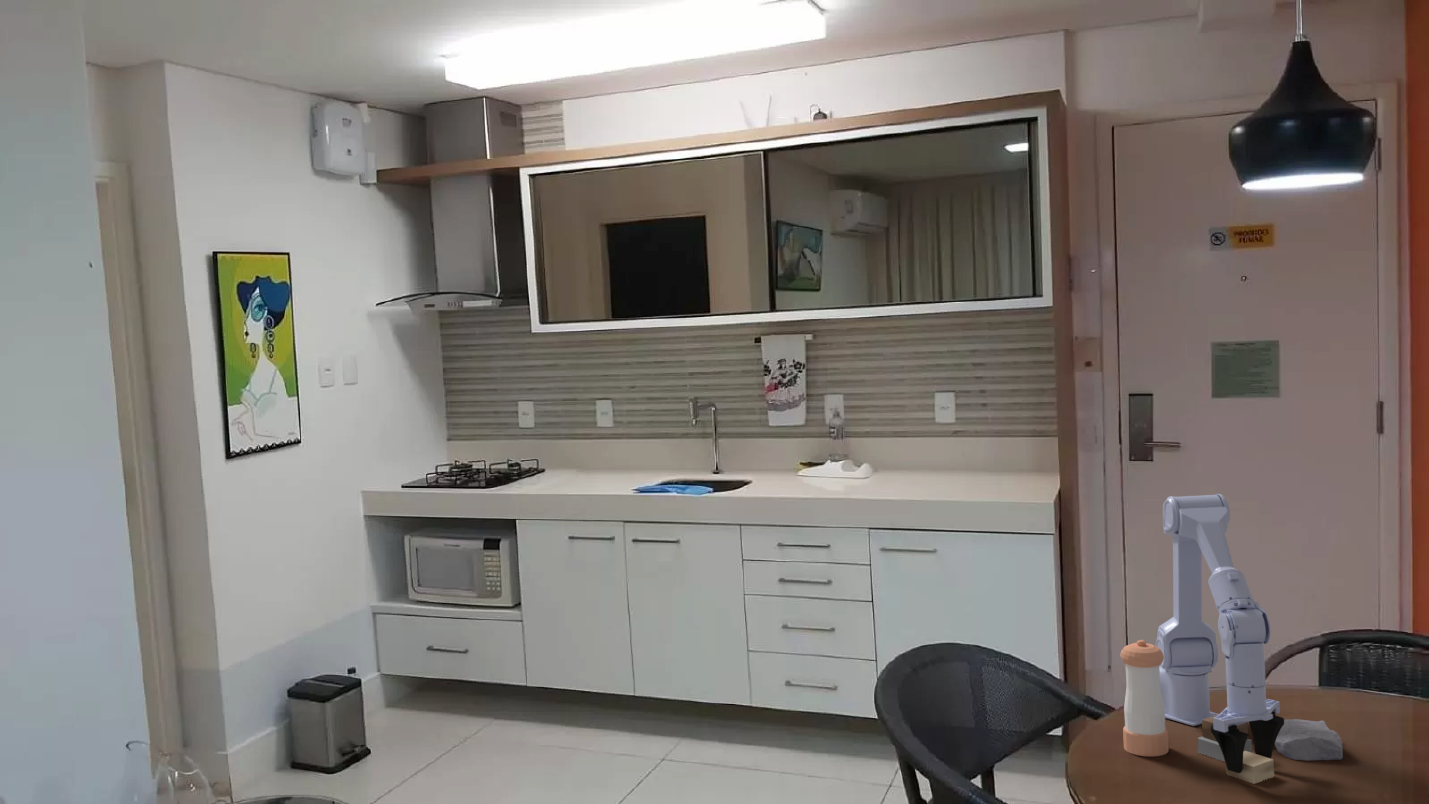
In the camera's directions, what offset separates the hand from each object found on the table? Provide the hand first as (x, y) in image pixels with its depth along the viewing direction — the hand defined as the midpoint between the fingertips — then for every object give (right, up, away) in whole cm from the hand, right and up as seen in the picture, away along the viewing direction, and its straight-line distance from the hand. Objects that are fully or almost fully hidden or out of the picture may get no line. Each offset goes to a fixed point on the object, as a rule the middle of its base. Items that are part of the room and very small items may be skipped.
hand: (1249, 765), depth 180 cm
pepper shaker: (-11, -2, +13) cm, 18 cm away
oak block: (0, -2, 0) cm, 2 cm away
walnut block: (+1, +2, +9) cm, 10 cm away
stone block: (+14, -1, +10) cm, 17 cm away
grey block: (0, -1, +9) cm, 9 cm away
